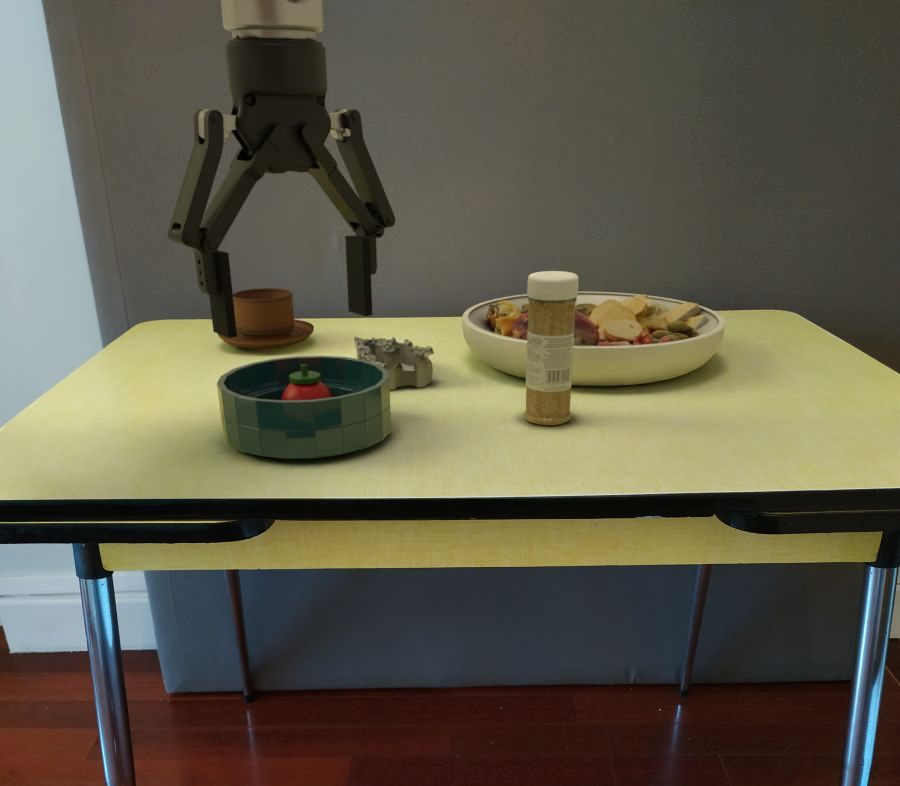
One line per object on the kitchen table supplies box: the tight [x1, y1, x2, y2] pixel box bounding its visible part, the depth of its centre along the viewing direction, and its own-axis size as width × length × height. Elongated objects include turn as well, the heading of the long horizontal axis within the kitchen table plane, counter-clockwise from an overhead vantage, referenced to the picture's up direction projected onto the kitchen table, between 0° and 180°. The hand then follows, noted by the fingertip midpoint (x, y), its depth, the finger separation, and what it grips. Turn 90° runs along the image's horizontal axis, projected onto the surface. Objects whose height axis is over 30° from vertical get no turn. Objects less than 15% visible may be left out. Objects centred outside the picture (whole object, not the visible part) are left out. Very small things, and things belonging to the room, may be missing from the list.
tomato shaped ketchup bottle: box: [282, 364, 332, 400], centre depth 82 cm, size 5×5×6 cm
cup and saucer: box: [217, 287, 315, 350], centre depth 114 cm, size 12×12×6 cm
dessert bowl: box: [216, 355, 392, 460], centre depth 83 cm, size 15×15×6 cm
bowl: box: [461, 291, 726, 387], centre depth 106 cm, size 30×30×8 cm
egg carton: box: [353, 336, 435, 391], centre depth 101 cm, size 11×8×4 cm
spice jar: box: [523, 270, 579, 426], centre depth 85 cm, size 5×5×13 cm
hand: (296, 323), depth 79 cm, fingers open, 13 cm apart
